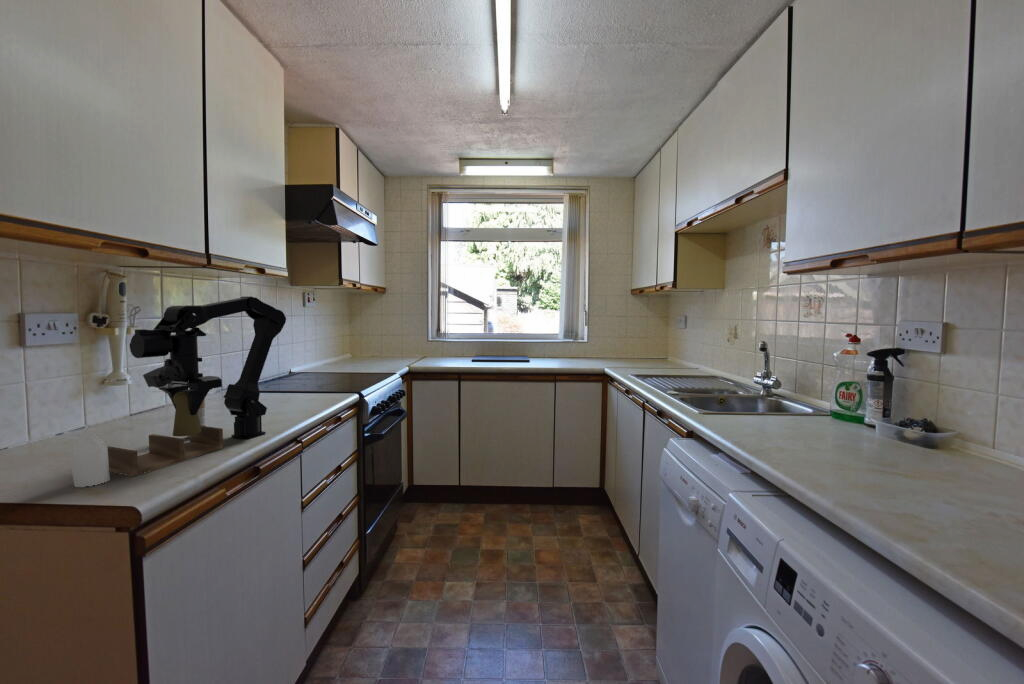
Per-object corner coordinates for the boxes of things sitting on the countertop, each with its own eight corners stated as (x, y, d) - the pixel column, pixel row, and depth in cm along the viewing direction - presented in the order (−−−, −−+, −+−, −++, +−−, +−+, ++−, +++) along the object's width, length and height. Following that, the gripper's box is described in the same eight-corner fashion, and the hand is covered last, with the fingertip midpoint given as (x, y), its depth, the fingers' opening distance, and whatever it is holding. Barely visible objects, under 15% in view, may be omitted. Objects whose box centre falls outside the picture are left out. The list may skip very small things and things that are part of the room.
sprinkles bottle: (183, 438, 123) (181, 392, 122) (196, 433, 128) (195, 389, 127) (197, 439, 122) (195, 393, 122) (210, 434, 127) (209, 390, 126)
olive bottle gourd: (207, 430, 113) (205, 389, 112) (185, 437, 107) (184, 394, 106) (188, 429, 114) (187, 388, 113) (166, 435, 108) (164, 392, 107)
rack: (193, 444, 118) (193, 424, 117) (223, 448, 114) (222, 428, 114) (100, 470, 98) (99, 446, 97) (133, 476, 94) (132, 452, 94)
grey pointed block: (114, 425, 92) (85, 432, 87) (117, 478, 93) (88, 489, 88) (91, 423, 93) (60, 430, 88) (93, 476, 94) (64, 486, 88)
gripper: (123, 355, 104) (126, 418, 105) (176, 359, 99) (179, 425, 100) (171, 351, 115) (174, 408, 116) (222, 355, 109) (224, 414, 110)
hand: (186, 414), depth 110 cm, fingers closed on olive bottle gourd, 5 cm apart
